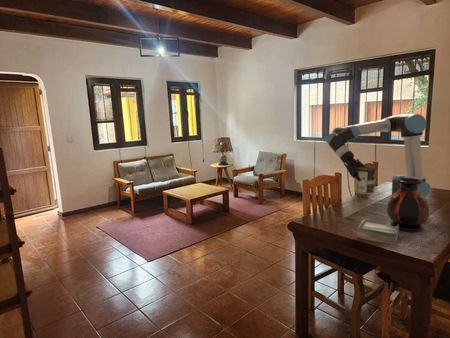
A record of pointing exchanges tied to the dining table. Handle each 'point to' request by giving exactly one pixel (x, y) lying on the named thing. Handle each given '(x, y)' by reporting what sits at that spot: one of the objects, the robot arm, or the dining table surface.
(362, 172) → the coffee can
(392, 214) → the amphora vase
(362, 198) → the dining table surface
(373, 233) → the clear glass tray
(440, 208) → the dining table surface
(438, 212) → the dining table surface
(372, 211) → the dining table surface
